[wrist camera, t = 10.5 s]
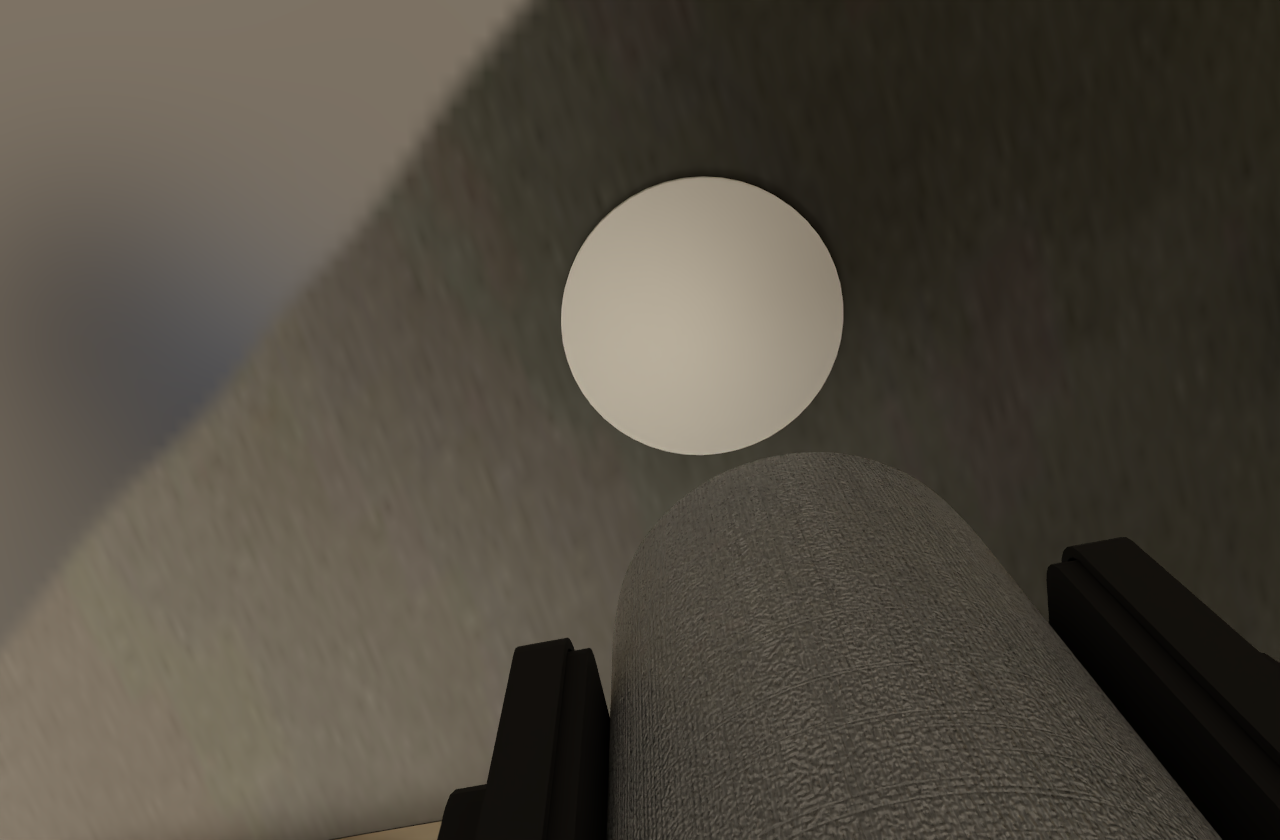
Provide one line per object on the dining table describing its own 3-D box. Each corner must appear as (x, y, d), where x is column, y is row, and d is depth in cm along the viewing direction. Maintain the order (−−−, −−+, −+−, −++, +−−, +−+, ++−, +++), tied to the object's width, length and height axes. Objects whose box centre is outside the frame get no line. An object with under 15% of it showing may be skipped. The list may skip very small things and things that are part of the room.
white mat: (886, 240, 26) (892, 243, 26) (769, 483, 29) (772, 491, 28) (622, 130, 25) (622, 131, 25) (524, 393, 28) (522, 399, 27)
